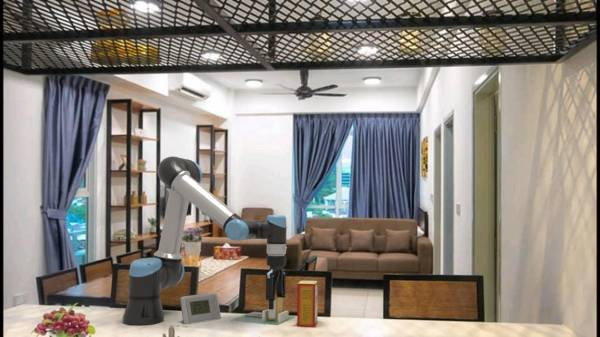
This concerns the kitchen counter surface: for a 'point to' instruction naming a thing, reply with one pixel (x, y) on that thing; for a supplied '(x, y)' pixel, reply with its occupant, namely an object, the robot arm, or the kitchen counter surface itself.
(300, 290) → the baking soda box
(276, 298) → the tan yellow block
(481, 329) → the kitchen counter surface
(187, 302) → the digital clock
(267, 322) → the board
